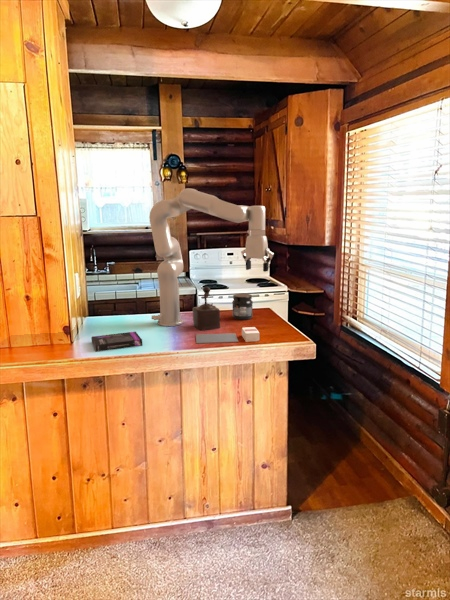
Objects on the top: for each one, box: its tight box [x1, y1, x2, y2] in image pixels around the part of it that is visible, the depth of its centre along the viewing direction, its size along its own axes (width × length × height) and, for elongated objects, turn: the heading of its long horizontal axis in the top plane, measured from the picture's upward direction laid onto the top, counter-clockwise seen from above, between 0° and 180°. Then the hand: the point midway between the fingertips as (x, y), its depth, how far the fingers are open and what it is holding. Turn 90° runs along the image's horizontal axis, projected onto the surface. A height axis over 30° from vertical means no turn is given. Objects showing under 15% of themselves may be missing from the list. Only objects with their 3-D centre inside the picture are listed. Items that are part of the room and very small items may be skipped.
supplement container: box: [231, 292, 254, 321], centre depth 229 cm, size 10×10×12 cm
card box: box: [241, 326, 261, 343], centre depth 196 cm, size 6×9×4 cm, turn 9°
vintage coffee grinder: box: [192, 286, 221, 331], centre depth 215 cm, size 16×11×18 cm
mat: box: [195, 332, 239, 345], centre depth 196 cm, size 18×12×1 cm, turn 95°
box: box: [91, 331, 143, 352], centre depth 190 cm, size 14×4×20 cm
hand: (257, 270), depth 206 cm, fingers open, 9 cm apart
